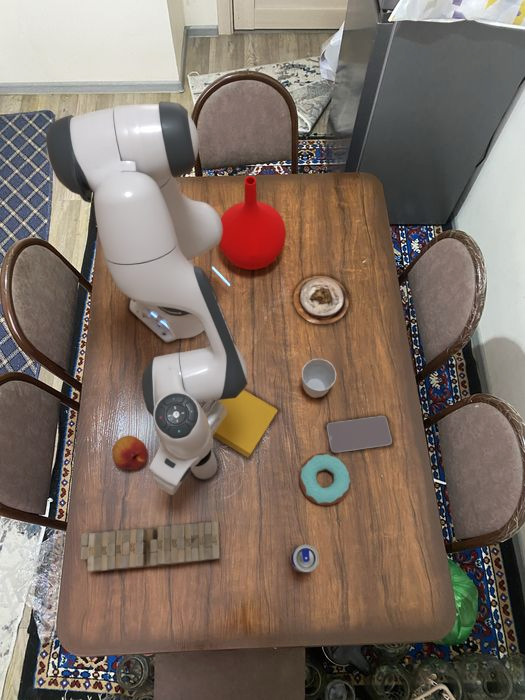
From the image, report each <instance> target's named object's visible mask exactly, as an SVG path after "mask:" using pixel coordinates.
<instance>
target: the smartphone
mask: <svg viewBox="0 0 525 700" xmlns="http://www.w3.org/2000/svg"><path fill="white" fill-rule="evenodd" d="M326 432H327V438H328V442H329V447H330V451H331V452H332V453H334V454H339V453H346V452H353V451H359V450H367V449H374V448H381V447H388V446H390V445H391V444H392V442H393V439H392V435H391V431H390V428H389V423H388V420H387V417H386V416H384V415H378V416H371V417H370V416H369V417H363V418H362V417H361V418H356V419H349V420H342V421H335V422H329V423H328V424H327V425H326Z"/></svg>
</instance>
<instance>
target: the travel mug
mask: <svg viewBox="0 0 525 700" xmlns="http://www.w3.org/2000/svg"><path fill="white" fill-rule="evenodd" d="M218 466H219V465H218V460H217V458H216V456H215V453H214V450H213V447H211V449H210V451H209V453H208V454H207V455H206V456H205V457H204V458H203V459H201V460H200V462H199V463H198V464H197V465H195V466H194V467H193V468H192V469H191V471H190V472H191V473H192V474H193V475H194V477H196V478H197V479H199V480H208V479H211V478H212V477H214V476H215V474H216V472H217V471H218Z"/></svg>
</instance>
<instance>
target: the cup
mask: <svg viewBox="0 0 525 700" xmlns="http://www.w3.org/2000/svg"><path fill="white" fill-rule="evenodd" d="M336 380H337V371H336V368H335V366H334V365H333V364H332V363H331V362H330V361H328V360H327V359H324V358H313V359H311V360H308V361H307V362H306V363H305V365H304V366H303V367H302V370H301V385H302V388H303V390H304V392H305V393H306V394H307V395H308V396H309V397H311V398H322V397H324V396H325V395H326V394H327V393H328V392H330V390H331V389H332V388H333V386H334V385H335V382H336Z"/></svg>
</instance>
